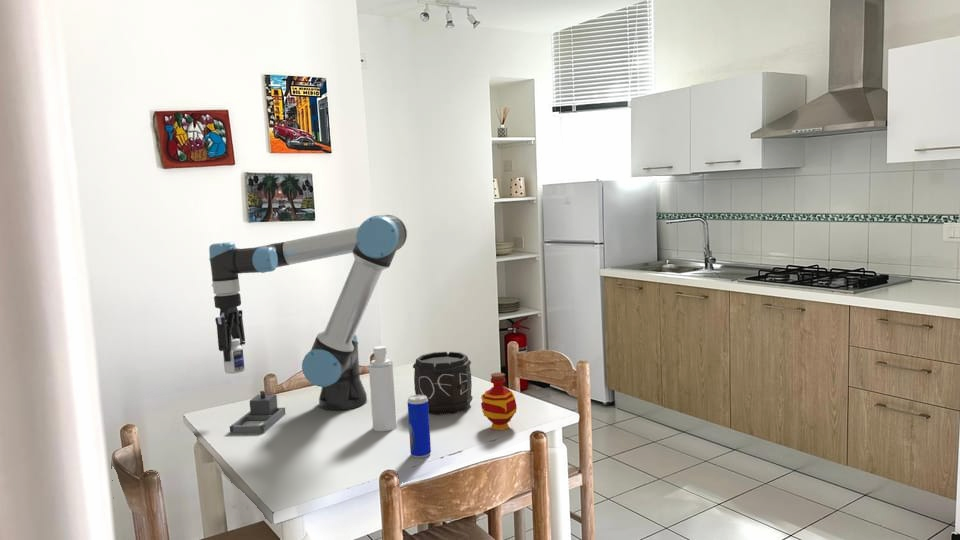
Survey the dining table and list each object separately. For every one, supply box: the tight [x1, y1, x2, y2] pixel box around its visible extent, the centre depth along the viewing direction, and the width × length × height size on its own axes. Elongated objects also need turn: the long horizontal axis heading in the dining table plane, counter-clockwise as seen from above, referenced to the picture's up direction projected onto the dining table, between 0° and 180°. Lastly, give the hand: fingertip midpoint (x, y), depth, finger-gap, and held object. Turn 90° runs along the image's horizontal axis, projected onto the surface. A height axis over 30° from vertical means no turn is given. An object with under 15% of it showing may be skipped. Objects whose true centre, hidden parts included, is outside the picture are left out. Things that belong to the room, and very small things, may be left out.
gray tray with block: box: [229, 390, 286, 435], centre depth 204 cm, size 10×17×9 cm, turn 175°
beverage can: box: [407, 394, 432, 459], centre depth 173 cm, size 5×5×15 cm
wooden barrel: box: [412, 351, 474, 416], centre depth 212 cm, size 18×18×16 cm
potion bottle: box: [480, 372, 518, 431], centre depth 191 cm, size 10×10×15 cm
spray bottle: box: [368, 345, 397, 432], centre depth 195 cm, size 7×7×25 cm
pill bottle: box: [222, 338, 246, 375], centre depth 209 cm, size 6×6×10 cm
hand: (234, 368), depth 209 cm, fingers closed on pill bottle, 6 cm apart
